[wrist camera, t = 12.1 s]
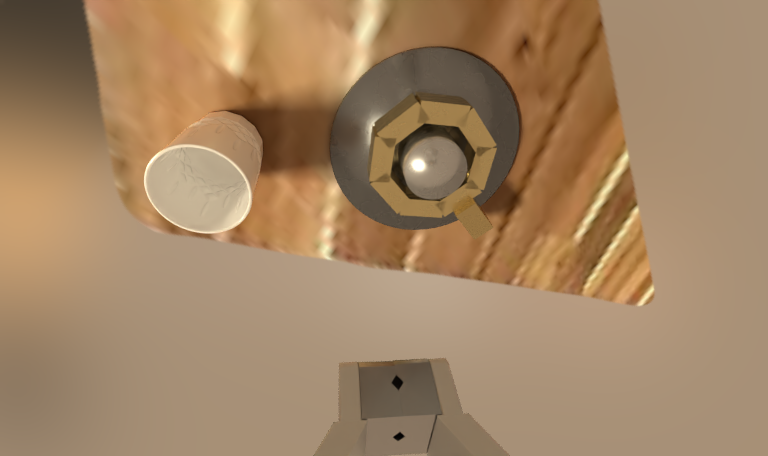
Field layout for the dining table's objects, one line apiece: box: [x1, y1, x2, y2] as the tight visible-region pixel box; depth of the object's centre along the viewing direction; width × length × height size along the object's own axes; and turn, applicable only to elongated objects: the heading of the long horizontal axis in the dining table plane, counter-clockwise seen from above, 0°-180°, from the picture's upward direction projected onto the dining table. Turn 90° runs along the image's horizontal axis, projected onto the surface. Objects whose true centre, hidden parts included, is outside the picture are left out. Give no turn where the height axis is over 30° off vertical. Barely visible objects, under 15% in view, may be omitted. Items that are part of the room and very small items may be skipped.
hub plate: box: [330, 47, 519, 230], centre depth 38 cm, size 20×20×5 cm
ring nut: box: [367, 92, 497, 239], centre depth 39 cm, size 16×12×4 cm
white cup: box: [144, 111, 263, 233], centre depth 34 cm, size 8×8×10 cm
